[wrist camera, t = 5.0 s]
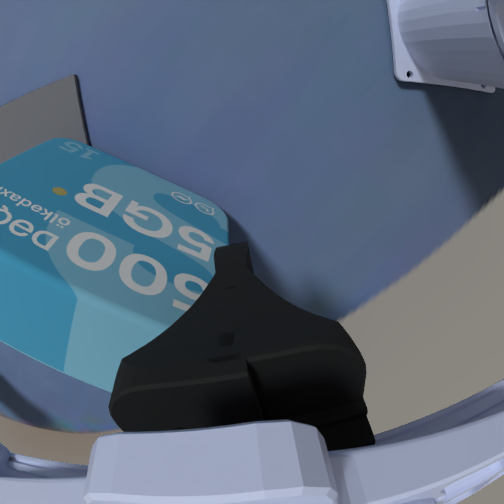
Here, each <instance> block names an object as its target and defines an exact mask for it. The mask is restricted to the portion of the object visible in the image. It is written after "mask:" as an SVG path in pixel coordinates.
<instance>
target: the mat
mask: <svg viewBox="0 0 504 504" xmlns="http://www.w3.org/2000/svg"><path fill="white" fill-rule="evenodd" d="M54 138H68V139H73V140H76V141H79V142H82V143H84V144H86V145H89V142H88V138H87V133H86V128H85V124H84V119H83V113H82V108H81V103H80V97H79V91H78V85H77V79H76V75H71V76H69V77H66V78H64V79H61V80H58V81H56V82H53V83H51V84H48V85H46V86H44V87H41V88H39V89H37V90H34V91H32V92H30V93H28V94H26V95H23V96H21V97H19V98H17V99H15V100H13V101H11V102H9V103H7V104H5V105H3V106H1V107H0V164H1V163H3V162H5V161H7V160H9V159H11V158H13V157H15V156H17V155H19V154H21V153H23V152H25V151H27V150H29V149H31V148H33V147H35V146H37V145H39V144H42V143H44V142H46V141H48V140H51V139H54Z"/></svg>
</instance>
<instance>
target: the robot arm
mask: <svg viewBox="0 0 504 504" xmlns="http://www.w3.org/2000/svg"><path fill="white" fill-rule="evenodd" d="M386 2H387V9H388V16H389V24H390V32H391V41H392V51H393V63H394V74H395V77H396V79H398V80H399V81H405V82H417V83H428V84H437V85H445V86H452V87H459V88H466V89H472V90H478V91H484V92H489V93H494V92H495V87H497V88H502V89H504V0H386ZM408 71H409V73H410V77H409V78H408V77H407V72H408ZM481 85H482V86H481ZM214 264H215V274H214V276H213V278H212V279H211V281H210V282H209V284H208V285H207V287H206V288H205V290H204V291H203V292H202V294H201V295H200V296H199V298H198V299H197V300H196V301H195V302H194V304H193V305H192V306H191V307H190V308H189V309H188V310H187V311H186V312H185V313H184V314H183V315H182V316H181V317H180V318H179V319H178V320H177V321H175V322H174V323H173V324H172V325H171V326H170V327H169V328H167V329H166V330H165V331H164V332H162V333H161V334H160V335H158V336H157V337H156V338H154V339H153V340H152V341H150V342H149V343H147V344H146V345H144V346H142V347H141V348H139V349H137V350H136V351H134V352H133V353H131V354H129V355H128V356H126V357H124V358H122V360H121V362H120V365H119V368H118V371H117V374H116V378H115V382H114V386H113V390H112V394H111V398H110V403H109V411H110V415H111V417H112V418H113V420H114V421H115V423H116V424H117V425H118V426H119V427H120V428H121V429H122V430H123V431H124V432H121V433H115V434H109V435H104V436H101V437H98V439H97V440H96V442H95V443H94V445H93V446H92V451H91V455H90V461H89V466H87V465H78V464H69V463H63V462H56V461H50V460H44V459H38V458H33V457H28V456H24V455H19V454H14V453H10V451H9V450H8V449H7V448H6V447H5V446H3V445H2V444H1V443H0V504H456V503H458V502H460V501H462V500H463V499H465V498H467V497H469V496H470V495H472V494H474V493H475V492H477V491H479V490H480V489H482V488H483V487H485V486H487V485H488V484H490V483H492V482H493V481H495V480H496V479H498V478H499V477H501V476H502V475H504V379H503V380H501V381H499V382H497V383H496V384H494V385H492V386H490V387H488V388H486V389H484V390H483V391H481V392H479V393H477V394H475V395H473V396H471V397H469V398H467V399H465V400H462V401H460V402H458V403H456V404H454V405H452V406H449V407H448V408H445V409H443V410H440V411H438V412H436V413H433V414H431V415H428V416H426V417H423V418H421V419H418V420H416V421H413V422H411V423H408V424H405V425H402V426H400V427H397V428H394V429H391V430H388V431H385V432H382V433H380V434H376V435H373V432H372V430H371V427H370V424H369V421H368V419H367V416H366V415H367V407H366V404H365V402H364V399H363V393H364V386H365V378H366V364H365V362H364V359H363V357H362V355H361V353H360V351H359V349H358V348H357V346H356V345H355V343H354V342H353V340H352V339H351V337H350V336H349V334H348V333H347V332H346V331H345V329H344V328H343V327H342V326H341V324H340V323H339V322H337V321H334V320H330V319H327V318H324V317H321V316H318V315H314V314H312V313H309V312H307V311H305V310H302V309H300V308H298V307H296V306H294V305H293V304H291V303H289V302H287V301H285V300H284V299H282V298H281V297H280V296H278V295H277V294H275V293H274V292H273V291H271V290H270V289H269V288H268V287H267V286H265V285H264V284H263V283H262V282H261V281H260V280H259V279H258V278H257V277H256V276H255V275H254V272H253V267H252V262H251V258H250V253H249V248H248V243H247V241H246V242H241V243H236V244H231V245H226V246H221V247H216V249H215V251H214Z"/></svg>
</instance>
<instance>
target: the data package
mask: <svg viewBox="0 0 504 504" xmlns="http://www.w3.org/2000/svg"><path fill="white" fill-rule="evenodd" d="M226 245H229V228H228V218H227V216H226V214H225V213H224V212H223V211H222V210H221V209H220V208H219V207H218V206H217V205H215V204H214V203H212V202H211V201H209V200H207V199H205V198H203V197H201V196H199V195H197V194H195V193H192V192H190V191H188V190H186V189H184V188H182V187H180V186H177V185H175V184H173V183H171V182H169V181H167V180H164V179H162V178H160V177H158V176H156V175H153V174H151V173H149V172H147V171H145V170H142V169H140V168H138V167H136V166H134V165H131V164H129V163H127V162H125V161H123V160H120V159H118V158H116V157H114V156H111V155H109V154H107V153H105V152H102V151H100V150H98V149H96V148H93V147H91V146H89V145H86V144H84V143H82V142H79V141H76V140H73V139H68V138H54V139H51V140H48V141H46V142H44V143H42V144H39V145H37V146H35V147H33V148H31V149H29V150H27V151H25V152H23V153H21V154H19V155H17V156H15V157H13V158H11V159H9V160H7V161H5V162H3V163H1V164H0V341H1V342H3V343H5V344H7V345H8V346H10V347H12V348H14V349H16V350H18V351H19V352H21V353H23V354H25V355H27V356H29V357H31V358H33V359H35V360H37V361H39V362H41V363H43V364H45V365H47V366H49V367H52V368H54V369H56V370H58V371H60V372H62V373H65V374H67V375H69V376H71V377H74V378H76V379H78V380H81V381H83V382H86V383H88V384H91V385H93V386H96V387H98V388H101V389H103V390H106V391H109V392H111V393H112V390H113V386H114V382H115V378H116V374H117V371H118V368H119V365H120V362H121V360H122V358H124V357H126V356H128V355H129V354H131V353H133V352H134V351H136V350H137V349H139V348H141V347H142V346H144V345H146V344H147V343H149V342H150V341H152V340H153V339H154V338H156V337H157V336H158V335H160V334H161V333H162V332H164V331H165V330H166V329H167V328H169V327H170V326H171V325H172V324H173V323H174V322H175V321H177V320H178V319H179V318H180V317H181V316H182V315H183V314H184V313H185V312H186V311H187V310H188V309H189V308H190V307H191V306H192V305H193V304H194V302H195V301H196V300H197V299H198V298H199V296H200V295H201V294H202V292H203V291H204V290H205V288H206V287H207V285H208V284H209V282H210V281H211V279H212V278H213V276H214V274H215V264H214V251H215V249H216V247H221V246H226Z"/></svg>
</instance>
